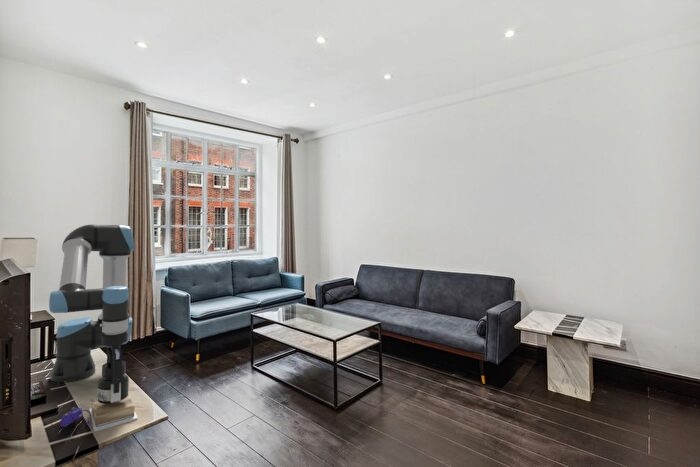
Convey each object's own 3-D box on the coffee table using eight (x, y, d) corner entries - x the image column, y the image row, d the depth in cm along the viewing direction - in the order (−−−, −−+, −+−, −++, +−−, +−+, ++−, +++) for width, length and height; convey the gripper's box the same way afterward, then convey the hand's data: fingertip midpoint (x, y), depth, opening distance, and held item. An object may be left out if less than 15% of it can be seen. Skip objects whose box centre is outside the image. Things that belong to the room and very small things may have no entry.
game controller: (48, 413, 115) (86, 398, 121) (55, 438, 114) (92, 421, 121) (48, 418, 107) (88, 401, 114) (55, 444, 107) (94, 426, 114)
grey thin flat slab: (89, 410, 124) (89, 408, 124) (128, 400, 132) (128, 398, 132) (94, 431, 112) (94, 429, 112) (137, 419, 120) (137, 417, 120)
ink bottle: (91, 399, 120) (92, 365, 120) (118, 389, 128) (119, 357, 128) (107, 407, 116) (108, 372, 115) (134, 396, 124) (135, 363, 123)
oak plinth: (91, 411, 123) (92, 402, 122) (128, 401, 130) (128, 393, 130) (95, 425, 114) (95, 416, 114) (134, 414, 122) (134, 405, 121)
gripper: (98, 325, 127) (96, 386, 128) (106, 342, 111) (104, 412, 111) (122, 322, 132) (120, 381, 132) (133, 338, 116) (131, 405, 116)
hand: (113, 395), depth 122 cm, fingers closed on ink bottle, 9 cm apart
